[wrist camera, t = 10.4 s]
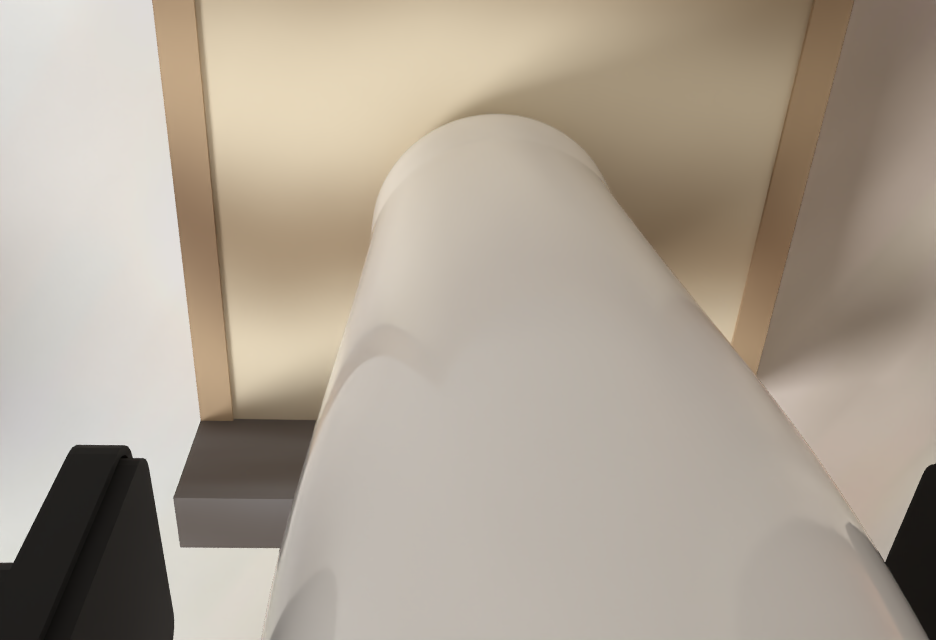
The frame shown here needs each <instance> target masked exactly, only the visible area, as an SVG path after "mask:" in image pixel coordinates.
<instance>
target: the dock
mask: <svg viewBox="0 0 936 640" xmlns="http://www.w3.org/2000/svg"><path fill="white" fill-rule="evenodd" d="M152 3H153V11H154V20H155V29H156V37H157V46H158V55H159V63H160V72H161V80H162V89H163V98H164V106H165V115H166V124H167V132H168V141H169V150H170V158H171V167H172V176H173V184H174V193H175V202H176V210H177V219H178V227H179V236H180V245H181V253H182V262H183V271H184V279H185V288H186V297H187V305H188V314H189V323H190V331H191V340H192V348H193V357H194V366H195V374H196V383H197V392H198V400H199V409H200V418H201V422H200V424H199V427H198V430H197V433H196V436H195V438H194V441H193V444H192V447H191V450H190V453H189V455H188V458H187V461H186V464H185V467H184V469H183V472H182V475H181V478H180V481H179V484H178V486H177V489H176V492H175V495H174V498H173V499H174V506H175V513H176V520H177V527H178V534H179V541H180V547H203V548H280V546H281V542H282V539H283V535H284V531H285V527H286V523H287V519H288V515H289V511H290V508H291V504H292V501H293V498H294V494H295V491H296V487H297V484H298V480H299V477H300V473H301V470H302V466H303V463H304V460H305V456H306V453H307V449H308V446H309V443H310V439H311V436H312V433H313V430H314V426H315V423H316V420H317V417H318V413H319V410H320V407H321V404H322V400H323V397H324V394H325V391H326V387H327V384H328V381H329V378H330V374H331V371H332V368H333V365H334V362H335V358H336V355H337V352H338V349H339V345H340V342H341V339H342V335H343V332H344V329H345V325H346V322H347V319H348V316H349V312H350V309H351V306H352V302H353V299H354V295H355V292H356V289H357V285H358V282H359V278H360V275H361V272H362V268H363V265H364V261H365V257H366V254H367V250H368V246H369V243H370V233H371V224H372V217H373V212H374V207H375V203H376V200H377V197H378V194H379V191H380V189H381V186H382V184H383V182H384V180H385V179H386V177H387V175H388V173H389V172H390V170H391V169H392V167H393V166H394V164H395V163H396V162H397V160H398V159H399V158H400V157H401V156H402V154H403V153H404V152H405V151H406V150H408V149H409V148H410V147H411V146H412V145H413V144H414V143H415V142H417V141H418V140H419V139H420V138H422V137H423V136H425V135H426V134H428V133H429V132H431V131H433V130H435V129H437V128H438V127H440V126H442V125H445V124H447V123H450V122H452V121H455V120H458V119H461V118H465V117H469V116H475V115H481V114H512V115H519V116H524V117H528V118H532V119H535V120H538V121H541V122H543V123H546V124H548V125H551V126H552V127H554V128H556V129H558V130H560V131H562V132H563V133H564V134H566V135H567V136H569V137H570V138H572V139H573V140H574V141H575V142H576V143H578V144H579V145H580V146H581V147H582V148H583V149H584V150H585V151H586V152H587V153H588V154H589V155H590V157H591V158H592V159H593V160H594V162H595V163H596V164H597V166H598V167H599V169H600V171H601V172H602V174H603V176H604V177H605V179H606V181H607V183H608V185H609V187H610V189H611V191H612V193H613V195H614V196H615V198H616V199H617V200H618V202H619V203H620V204H621V206H622V207H623V208H624V210H625V211H626V212H627V214H628V215H629V216H630V218H631V219H632V220H633V221H634V223H635V224H636V225H637V227H638V228H639V229H640V230H641V232H642V233H643V234H644V236H645V237H646V238H647V239H648V241H649V242H650V243H651V245H652V246H653V247H654V248H655V250H656V251H657V252H658V253H659V255H660V256H661V257H662V258H663V260H664V261H665V262H666V264H667V265H668V266H669V267H670V269H671V270H672V271H673V272H674V274H675V275H676V276H677V277H678V279H679V280H680V281H681V282H682V284H683V285H684V286H685V287H686V289H687V290H688V291H689V292H690V294H691V295H692V296H693V297H694V299H695V300H696V301H697V302H698V304H699V305H700V306H701V307H702V309H703V310H704V311H705V312H706V314H707V315H708V316H709V317H710V319H711V320H712V321H713V322H714V324H715V325H716V326H717V327H718V329H719V330H720V331H721V332H722V334H723V335H724V336H725V337H726V339H727V340H728V341H729V342H730V344H731V345H732V346H733V347H734V349H735V350H736V351H737V352H738V354H739V355H740V356H741V357H742V359H743V360H744V361H745V362H746V364H747V365H748V366H749V367H750V369H751V370H752V371H753V372H754V374H755V375H756V374H757V370H758V366H759V362H760V359H761V355H762V351H763V347H764V343H765V339H766V336H767V332H768V328H769V324H770V320H771V317H772V313H773V309H774V305H775V301H776V297H777V294H778V290H779V286H780V282H781V278H782V275H783V271H784V267H785V263H786V259H787V255H788V252H789V248H790V244H791V240H792V236H793V233H794V229H795V225H796V221H797V217H798V214H799V210H800V206H801V202H802V198H803V194H804V191H805V187H806V183H807V179H808V175H809V172H810V168H811V164H812V160H813V156H814V152H815V149H816V145H817V141H818V137H819V133H820V130H821V126H822V122H823V118H824V114H825V110H826V107H827V103H828V99H829V95H830V91H831V88H832V84H833V80H834V76H835V72H836V68H837V65H838V61H839V57H840V53H841V49H842V46H843V42H844V38H845V34H846V30H847V26H848V23H849V19H850V15H851V11H852V7H853V4H854V0H152Z"/></svg>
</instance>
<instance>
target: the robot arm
mask: <svg viewBox="0 0 936 640" xmlns="http://www.w3.org/2000/svg"><path fill="white" fill-rule="evenodd" d="M885 563H886V565H887V566H888V568H889V570H890V571H891V573H892V575H893V577H894V578H895V580H896V582H897V584H898V585H899V587H900V589H901V590H902V592H903V594H904V596H905V597H906V599H907V601H908V602H909V604H910V606H911V608H912V609H913V611H914V613H915V615H916V616H917V618H918V620H919V622H920V623H921V625H922V627H923V629H924V631H925V632H926V634H927V636H928V638H929V639H930V640H936V464H933V465H930V466H928V467H927V468H926V470H925V471H924V473H923V475H922V477H921V480H920V482H919V484H918V487H917V489H916V491H915V494H914V496H913V498H912V501H911V503H910V505H909V508H908V510H907V512H906V515H905V517H904V519H903V522H902V524H901V526H900V529H899V531H898V533H897V536H896V538H895V541H894V543H893V545H892V548H891V550H890V552H889V555H888V557H887V559H886V562H885ZM173 635H174V613H173V607H172V601H171V595H170V590H169V584H168V578H167V572H166V566H165V560H164V554H163V548H162V542H161V537H160V531H159V525H158V519H157V513H156V507H155V501H154V495H153V489H152V483H151V478H150V472H149V467H148V463H147V461H146V459H144V458H133V457H132V454H131V451H130V449H129V447H128V446H125V445H76V446H74V447H72V449H71V450H70V452H69V453H68V455H67V457H66V459H65V461H64V463H63V465H62V467H61V469H60V471H59V473H58V475H57V477H56V479H55V481H54V483H53V485H52V487H51V489H50V491H49V493H48V495H47V497H46V499H45V501H44V503H43V505H42V507H41V509H40V511H39V513H38V515H37V517H36V519H35V521H34V523H33V525H32V527H31V529H30V531H29V533H28V535H27V537H26V539H25V541H24V543H23V545H22V547H21V549H20V551H19V553H18V555H17V557H16V559H15V561H14V563H0V640H173Z"/></svg>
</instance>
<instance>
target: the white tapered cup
mask: <svg viewBox="0 0 936 640" xmlns="http://www.w3.org/2000/svg"><path fill="white" fill-rule="evenodd" d="M261 640H930V639H929V638H928V636H927V634H926V632H925V631H924V629H923V627H922V625H921V623H920V622H919V620H918V618H917V616H916V615H915V613H914V611H913V609H912V608H911V606H910V604H909V602H908V601H907V599H906V597H905V596H904V594H903V592H902V590H901V589H900V587H899V585H898V584H897V582H896V580H895V578H894V577H893V575H892V573H891V571H890V570H889V568H888V566H887V565H886V563H885V562H884V560H883V558H882V557H881V555H880V553H879V552H878V550H877V548H876V547H875V545H874V544H873V542H872V540H871V539H870V537H869V535H868V534H867V532H866V530H865V529H864V527H863V526H862V524H861V523H860V521H859V519H858V518H857V516H856V515H855V513H854V512H853V510H852V509H851V507H850V505H849V504H848V502H847V501H846V499H845V498H844V496H843V495H842V493H841V491H840V490H839V488H838V487H837V485H836V484H835V483H834V481H833V480H832V478H831V477H830V475H829V474H828V472H827V471H826V469H825V468H824V466H823V465H822V463H821V462H820V460H819V459H818V458H817V456H816V455H815V453H814V452H813V451H812V449H811V448H810V446H809V445H808V444H807V442H806V441H805V440H804V438H803V437H802V435H801V434H800V433H799V431H798V430H797V429H796V427H795V426H794V424H793V423H792V422H791V420H790V419H789V418H788V416H787V415H786V414H785V413H784V411H783V410H782V409H781V407H780V406H779V405H778V403H777V402H776V401H775V400H774V398H773V397H772V396H771V394H770V393H769V392H768V391H767V389H766V388H765V387H764V385H763V384H762V383H761V381H760V380H759V379H758V378H757V376H756V375H755V374H754V372H753V371H752V370H751V369H750V367H749V366H748V365H747V364H746V362H745V361H744V360H743V359H742V357H741V356H740V355H739V354H738V352H737V351H736V350H735V349H734V347H733V346H732V345H731V344H730V342H729V341H728V340H727V339H726V337H725V336H724V335H723V334H722V332H721V331H720V330H719V329H718V327H717V326H716V325H715V324H714V322H713V321H712V320H711V319H710V317H709V316H708V315H707V314H706V312H705V311H704V310H703V309H702V307H701V306H700V305H699V304H698V302H697V301H696V300H695V299H694V297H693V296H692V295H691V294H690V292H689V291H688V290H687V289H686V287H685V286H684V285H683V284H682V282H681V281H680V280H679V279H678V277H677V276H676V275H675V274H674V272H673V271H672V270H671V269H670V267H669V266H668V265H667V264H666V262H665V261H664V260H663V258H662V257H661V256H660V255H659V253H658V252H657V251H656V250H655V248H654V247H653V246H652V245H651V243H650V242H649V241H648V239H647V238H646V237H645V236H644V234H643V233H642V232H641V230H640V229H639V228H638V227H637V225H636V224H635V223H634V221H633V220H632V219H631V218H630V216H629V215H628V214H627V212H626V211H625V210H624V208H623V207H622V206H621V204H620V203H619V202H618V200H617V199H616V198H615V196H614V195H613V193H612V191H611V189H610V187H609V185H608V183H607V181H606V179H605V177H604V176H603V174H602V172H601V171H600V169H599V167H598V166H597V164H596V163H595V162H594V160H593V159H592V158H591V157H590V155H589V154H588V153H587V152H586V151H585V150H584V149H583V148H582V147H581V146H580V145H579V144H578V143H576V142H575V141H574V140H573V139H572V138H570V137H569V136H567V135H566V134H564V133H563V132H562V131H560V130H558V129H556V128H554V127H552V126H551V125H548V124H546V123H543V122H541V121H538V120H535V119H532V118H528V117H524V116H519V115H512V114H481V115H475V116H469V117H465V118H461V119H458V120H455V121H452V122H450V123H447V124H445V125H442V126H440V127H438V128H437V129H435V130H433V131H431V132H429V133H428V134H426V135H425V136H423V137H422V138H420V139H419V140H418V141H417V142H415V143H414V144H413V145H412V146H411V147H410V148H409V149H408V150H406V151H405V152H404V153H403V154H402V156H401V157H400V158H399V159H398V160H397V162H396V163H395V164H394V166H393V167H392V169H391V170H390V172H389V173H388V175H387V177H386V179H385V180H384V182H383V184H382V186H381V189H380V191H379V194H378V197H377V200H376V203H375V207H374V212H373V217H372V224H371V233H370V243H369V246H368V250H367V254H366V257H365V261H364V265H363V268H362V272H361V275H360V278H359V282H358V285H357V289H356V292H355V295H354V299H353V302H352V306H351V309H350V312H349V316H348V319H347V322H346V325H345V329H344V332H343V335H342V339H341V342H340V345H339V349H338V352H337V355H336V358H335V362H334V365H333V368H332V371H331V374H330V378H329V381H328V384H327V387H326V391H325V394H324V397H323V400H322V404H321V407H320V410H319V413H318V417H317V420H316V423H315V426H314V430H313V433H312V436H311V439H310V443H309V446H308V449H307V453H306V456H305V460H304V463H303V466H302V470H301V473H300V477H299V480H298V484H297V487H296V491H295V494H294V498H293V501H292V504H291V508H290V511H289V515H288V519H287V523H286V527H285V531H284V535H283V539H282V542H281V546H280V550H279V555H278V559H277V564H276V568H275V573H274V577H273V581H272V586H271V591H270V596H269V601H268V606H267V611H266V616H265V621H264V626H263V631H262V637H261Z"/></svg>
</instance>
